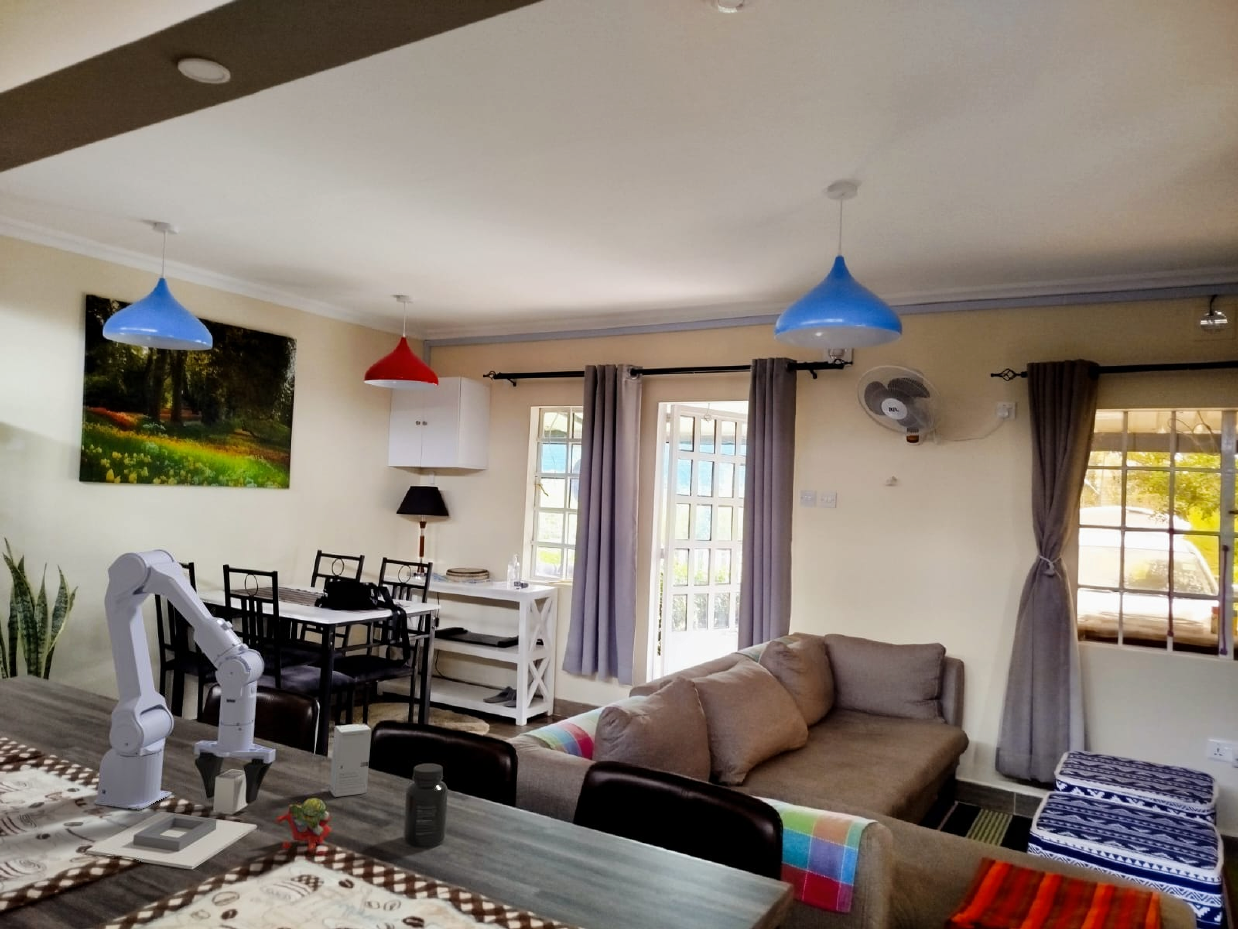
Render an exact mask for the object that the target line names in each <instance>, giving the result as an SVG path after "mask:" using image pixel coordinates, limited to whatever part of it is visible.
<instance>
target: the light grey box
mask: <svg viewBox="0 0 1238 929" xmlns="http://www.w3.org/2000/svg"><path fill="white" fill-rule="evenodd" d="M245 796H246V777H245V772H244V770H239V769H233V768H232V769H229V770H227V771H225V772H224V773H220V775H219V776H217V777H216V780H215V794H214V797H213V798H214V799H213V808H212V809H213V810H212V812H213V811H217V812H222V813H221V814H226V815H234V814H235V813H237V812H238V811H240V810H242V809H244V808H245V807H247V806H248V804H247V803H246V799H245ZM217 812H216V813H217Z"/></svg>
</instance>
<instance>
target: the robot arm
mask: <svg viewBox="0 0 1238 929" xmlns="http://www.w3.org/2000/svg"><path fill="white" fill-rule="evenodd" d="M183 569H184V568H183V566H182V564H180V563H179V562H178V561H176V558H175V557H174V555H173V554H172V553H171V552H169V551H167V550H165V549H159V548H158V549H155V550H150V551H139V552H125V553H123V554H121V555H119V556H118V557H117V558H116V559H115V561H113V563H111V565H110V566H109V567H108V568H107V572H108V573H107V574H108V578H109V581H108V584H107V588H106V592H105V595H104V600H103V602H104V609H105V615H106V621H107V622H106V623H107V628H108V633H109V634H108V635H109V640H110V641H109V642H110V645H111V646H110V647H111V651H112V660H113V664H114V671H115V677H116V683H117V688H118V695H119V701H118V703H117V704H116V706H115V707H114V709H113V710H112V713H111V715H110V717H111V727H110V731H109V736H108V738H109V743H110V745H111V746H112V748H110V749H109V750H107V752H106V753H105V754H104V755H103V757H102V759H101V761H100V765H99V771H98V782H97V783H98V784H97V797H96V799H95V800H93V804H94V805H100V804H103V805H102V806H107V805H108V807H114V806H115V807H116V808H120V809H121V808H123V809H128V808H132V809H131V810H135V809H137V810H136V811H140V810H141V809H142V810H144V809H146V808H147V807H149V805H150V806H152V805H153V803H154V804H156V803H157V802H156V801H158V802H160V801H162V800H164V799H166V798H169V797H170V796H172V792H171V791H166V790H161V788H162V787H161V786H162V775H163V761H164V751H165V744H166V738H167V737H169V735H170V734H171V733H172V731H173V730H174V725H175V719H174V716H173V714H172V712H171V710H170V709H168V706H167V702H166V698H165V697H164V696H163V695H161V694H160V693H159V692H157V691H156V689H155V683H154V676H153V670H152V664H151V658H150V652H149V646H148V640H147V635H146V628H145V622H144V621H145V620H144V617H143V611H142V605H143V603H144V602H145V601H146V600H147V599H148V597H149V596H150V595H151V594H154V595H159V596H163V597H165V598H166V599H167V600H168V601H169V602H170V603H171V605H173V607H174V608H176V610H177V611H178V612H179V613H180V614H181V615H182V617H183V618H184V619H185V620H186V621H187V622H188V623H189V624H190V625H191V626H192V628H193V629H194V632H193V640H194V641H195V643H196V644H197V645H198V647H199V649H200V650H201V651H202V652H203V653H204V655H205V656H206V657H207V658H208V660H210V662H211V663H212V664H213V666H214V667H215V668H216V669H217V670H215V678H216V682H217V683H218V684H219V686H220V708H219V720H218V722H219V723H218V734H217V735H218V736H217V740H200V741H198V742H196V743H194V747H193V748H194V751H193V755H196V756H198V758H197V757H196V758H195V759H194V765H195V767H196V768H197V770H198V773H199V774H200V777H201V779H202V783H203V786H204V790H205V795H206V799H212V798H214V794H215V780H216V777H217V776H219V775H221V770H222V765H223V762H224V758H232V759H233V758H234V759H241V760H249V761H250V762H248V763H245V764H244V765H243V771H244V772H245V777H246V796H245V799H246V803H247V805H248V804H249V805H250V804H252V803H254V802H255V801H257V797H258V795H259V791H260V788H261V786H262V783H263V780H264V778H265V776H266V774H267V772H268V771H269V769H270V768H271V766H272V764H273V762H274V761H275V760H276V750H277V749H276V748H275V749H274V748H270V747H266V746H264V745H263V746H262V745H260V744H256V743H254V732H255V731H254V730H255V719H256V704H257V688H258V679H259V678H260V677H261V676H262V674H263V672H264V670H265V662H264V659H263V657H262V656H261V653H260V652H259V651H257V650H255V649H251V648H249V646H248V645H247V644H246V643H243V641H241V639H240V637H238V635H237V634H236V633H235V632H234V630H233V629H232V628H233V625H232V623H231V622H230V621H229V620H228V621H226V620H225V619H224V618H221V617H214V616H212V614H211V613H210V611H209V610H208V608H207V607H206V605H205V604H204V602H203V600H202V599H201V598H200V597H199V594H198V593H197V592H196V591H195V589H194V588H193V586H192V585H191V584H190V582H189V580H188V579H187V578H186V576H185V574H184V570H183ZM169 795H170V796H169ZM165 797H166V798H165ZM163 798H164V799H163ZM161 799H162V800H161ZM159 800H160V801H159ZM155 802H156V803H155ZM151 804H152V805H151ZM143 808H144V809H143ZM142 810H141V811H142Z"/></svg>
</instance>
